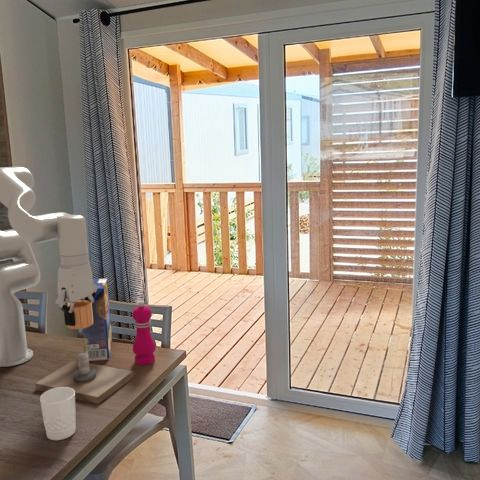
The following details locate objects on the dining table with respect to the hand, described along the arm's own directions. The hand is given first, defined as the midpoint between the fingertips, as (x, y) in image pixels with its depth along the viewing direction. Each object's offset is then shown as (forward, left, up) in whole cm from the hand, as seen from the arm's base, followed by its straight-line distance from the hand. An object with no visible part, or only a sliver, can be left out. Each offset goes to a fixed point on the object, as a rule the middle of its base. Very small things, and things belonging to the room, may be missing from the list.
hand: (79, 320), depth 139 cm
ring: (0, 0, -1) cm, 1 cm away
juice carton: (-10, +19, -20) cm, 29 cm away
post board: (0, 0, -20) cm, 20 cm away
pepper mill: (+8, +19, -20) cm, 29 cm away
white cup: (+11, -22, -20) cm, 32 cm away
